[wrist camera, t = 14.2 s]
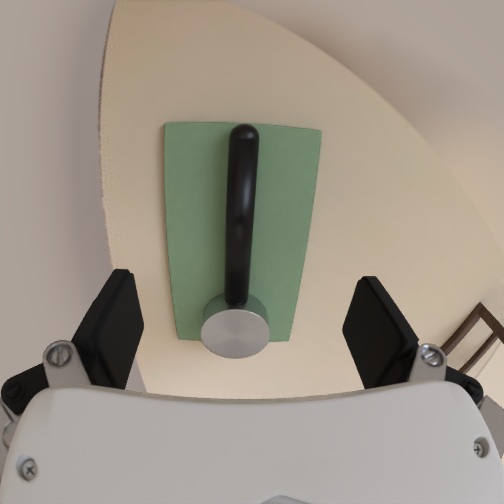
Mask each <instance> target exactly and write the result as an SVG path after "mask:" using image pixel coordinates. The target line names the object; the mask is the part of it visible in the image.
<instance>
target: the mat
mask: <svg viewBox="0 0 504 504" xmlns="http://www.w3.org/2000/svg"><path fill="white" fill-rule="evenodd" d="M239 124H250V123H228V122H176V123H165V124H164V189H165V215H166V233H167V247H168V259H169V270H170V281H171V290H172V299H173V307H174V315H175V322H176V329H177V336H178V339H180V340H199V341H202V339H201V324H202V316H203V311H204V308H205V307H206V305H207V304H208V302H209V301H211V300H212V299H213V298H215V297H216V296H218V295H221V294H224V276H225V230H226V199H227V173H228V152H229V136H230V132H231V131H232V129H233V128H234V127H235V126H237V125H239ZM250 125H252V126H254V127H255V128H256V129H257V131H258V133H259V153H258V168H257V182H256V196H255V210H254V224H253V238H252V252H251V267H250V281H249V295H252V296H254V297H256V298H257V299H258V300H260V301H261V302H262V303H263V305H264V306H265V308H266V311H267V315H268V321H269V327H270V339H269V341H268V342H277V341H289V338H290V333H291V328H292V323H293V318H294V313H295V308H296V303H297V298H298V293H299V288H300V282H301V277H302V271H303V265H304V259H305V254H306V248H307V241H308V235H309V229H310V222H311V215H312V208H313V201H314V194H315V187H316V179H317V171H318V162H319V154H320V145H321V135H322V131H319V130H312V129H304V128H296V127H287V126H277V125H265V124H250Z"/></svg>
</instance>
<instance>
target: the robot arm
mask: <svg viewBox="0 0 504 504" xmlns="http://www.w3.org/2000/svg"><path fill="white" fill-rule="evenodd" d="M143 330H144V322H143V317H142V313H141V309H140V304H139V299H138V295H137V290H136V285H135V279H134V275H133V273H130V272H129V270H128V269H115V270H114V271H113V272H112V274H111V276H110V277H109V279H108V280H107V282H106V283H105V285H104V286H103V288H102V290H101V291H100V293H99V295H98V296H97V298H96V299H95V300H94V301H93V303H92V305H91V306H90V308H89V310H88V311H87V313H86V315H85V317H84V318H83V320H82V322H81V324H80V325H79V327H78V329H77V331H76V333H75V334H74V336H73V338H72V340H71V342H70V341H67V340H59V341H56V342H54V343H52V344H50V345H49V346H48V347H47V348H46V350H45V351H44V353H43V363H41V364H39V365H37V366H35V367H33V368H30V369H28V370H26V371H24V372H22V373H20V374H18V375H16V376H13V377H11V378H10V379H8V380H7V381H6V382H5V383H4V385H3V387H2V389H1V397H0V504H504V467H503V464H502V461H501V458H502V456H503V453H504V409H502V407H500V406H499V405H498V404H497V403H496V402H494V401H493V400H492V399H491V398H490V397H488V396H487V395H486V396H485V397H483V389H482V386H481V385H480V383H479V382H478V381H477V380H475V379H474V378H472V377H470V376H468V375H466V374H463V373H461V372H459V371H457V370H455V369H453V368H451V367H449V366H447V358H446V355H445V353H444V352H443V351H442V350H441V349H440V348H439V347H437V346H435V345H433V344H422V345H421V346H419V345H418V343H417V342H418V341H419V339H418V337H417V336H416V334H415V332H414V331H413V329H412V328H411V326H410V325H409V323H408V322H407V320H406V319H405V317H404V316H403V314H402V313H401V311H400V310H399V308H398V307H397V305H396V304H395V302H394V301H393V299H392V298H391V297H390V295H389V294H388V292H387V291H386V289H385V288H384V287H383V285H382V284H381V282H380V281H379V280H378V278H377V277H376V276H363V277H362V278H361V280H358V282H357V285H356V288H355V292H354V295H353V298H352V301H351V304H350V307H349V310H348V313H347V316H346V318H345V321H344V324H343V328H342V331H343V335H344V337H345V340H346V342H347V345H348V347H349V350H350V352H351V355H352V357H353V360H354V362H355V365H356V367H357V370H358V372H359V375H360V378H361V380H362V383H363V385H364V388H365V389H364V390H358V391H352V392H345V393H337V394H328V395H319V396H308V397H295V398H277V399H212V398H193V397H180V396H170V395H160V394H152V393H143V392H135V391H129V390H125V387H126V383H127V380H128V377H129V373H130V370H131V367H132V364H133V360H134V357H135V354H136V351H137V348H138V345H139V342H140V339H141V336H142V333H143Z"/></svg>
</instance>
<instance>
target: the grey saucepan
mask: <svg viewBox="0 0 504 504" xmlns="http://www.w3.org/2000/svg"><path fill="white" fill-rule="evenodd" d="M258 153H259V133H258V131H257V129H256V128H255V127H254V126H252V125H250V124H239V125H237V126H235V127H234V128H233V129H232V131H231V132H230V136H229V152H228V173H227V199H226V230H225V276H224V294H221V295H218V296H216V297H215V298H213V299H212V300H211V301H209V302H208V304H207V305H206V307H205V308H204V311H203V316H202V324H201V339H202V342H203V343H204V345H205V346H206V348H207V349H209V350H210V351H211V352H213V353H214V354H216V355H219V356H221V357H225V358H233V359H238V358H245V357H249V356H252V355H254V354H256V353H258V352H260V351H261V350H262V349H263V348H264V347H265V346H266V345H267V343H268V341H269V339H270V327H269V321H268V315H267V311H266V308H265V306H264V305H263V303H262V302H261V301H260V300H258V299H257V298H256V297H254V296H252V295H249V281H250V267H251V252H252V238H253V224H254V210H255V196H256V182H257V168H258Z"/></svg>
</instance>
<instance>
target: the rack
mask: <svg viewBox="0 0 504 504" xmlns="http://www.w3.org/2000/svg"><path fill="white" fill-rule="evenodd" d="M480 318H482V319H483V320H484V321H485V322H486V324H487V325H488V326H489V327H490V328H491V329H492V331H493V332H494V333H493V334H492V335H491V337H490V338H489V339H488V340H487V341H486V343H485V344H484V345H483V346H482V347H481V348H480V349H479V351H478V352H477V353H476V354H475V355H474V356H473V357H472V358H471V359H470V360H469V361H468V362H467V363H466V365H465V366H464V367H463V368H462V369H461V370H460V371H459V372H461V373H463V374H466V373H467V372H468V371H469V370H470V369H471V368H472V367H473V366H474V365H475V364H476V362H477V361H478V360H479V359H480V358H481V357H482V356H483V355H484V354H485V353H486V351H487V350H488V349H489V348H490V347H491V346H492V345H493V343H494V342H495V341H496V340H497V339H498V338H499V339H500V340H501V341H502V343H503V344H504V327H503V326H502V325H501V324H500V323H499V322H498V321H497V320H496V318H495V317H494V316H493V315H492V314H491V313H490V312H489V311H488V310H487V309H486V308H485V307H484V306H483V304H482V303H481V302H480V303H479V304H478V306H477V307H476V308H475V309H474V311H473V312H472V313H471V314H470V316H469V317H468V318H467V319H466V321H465V322H464V323H463V324H462V325H461V327H460V328H459V329H458V330H457V331H456V332H455V333H454V335H453V336H452V337H451V338H450V339H449V340H448V341H447V342H446V343H445V344H444V346H443V347H442V348H441V350H442V351H443V352H444V353H445V355H446V356H447V355H448V354H449V353H450V352H451V351H452V350H453V349H454V348H455V347H456V346H457V345H458V343H459V342H460V341H461V340H462V339H463V338H464V337H465V336H466V334H467V333H468V332H469V331H470V330H471V329H472V327H473V326H474V325H475V324H476V323H477V321H478V320H479V319H480Z"/></svg>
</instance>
